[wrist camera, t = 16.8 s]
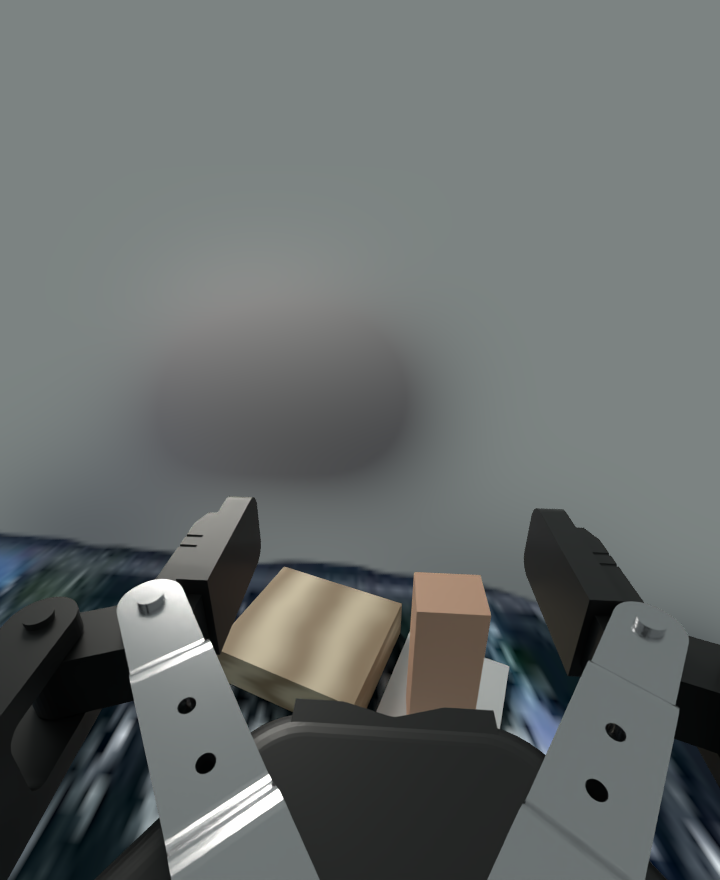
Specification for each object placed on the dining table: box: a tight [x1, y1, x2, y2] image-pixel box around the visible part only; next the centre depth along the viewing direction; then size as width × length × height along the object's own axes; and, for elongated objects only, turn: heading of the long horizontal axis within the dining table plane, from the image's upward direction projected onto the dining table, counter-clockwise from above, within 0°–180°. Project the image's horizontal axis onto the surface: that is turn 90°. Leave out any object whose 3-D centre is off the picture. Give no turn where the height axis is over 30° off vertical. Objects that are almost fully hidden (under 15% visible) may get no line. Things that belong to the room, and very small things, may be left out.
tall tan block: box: [406, 572, 491, 715], centre depth 35 cm, size 5×4×14 cm
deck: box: [217, 567, 402, 712], centre depth 43 cm, size 14×12×4 cm
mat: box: [376, 632, 509, 729], centre depth 38 cm, size 10×16×1 cm, turn 156°
